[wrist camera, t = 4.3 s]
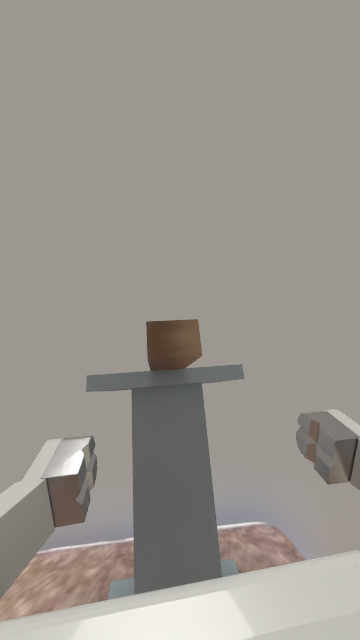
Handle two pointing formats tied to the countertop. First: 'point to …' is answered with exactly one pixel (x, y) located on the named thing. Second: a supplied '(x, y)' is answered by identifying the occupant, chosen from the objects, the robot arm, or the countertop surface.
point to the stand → (170, 478)
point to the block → (173, 344)
